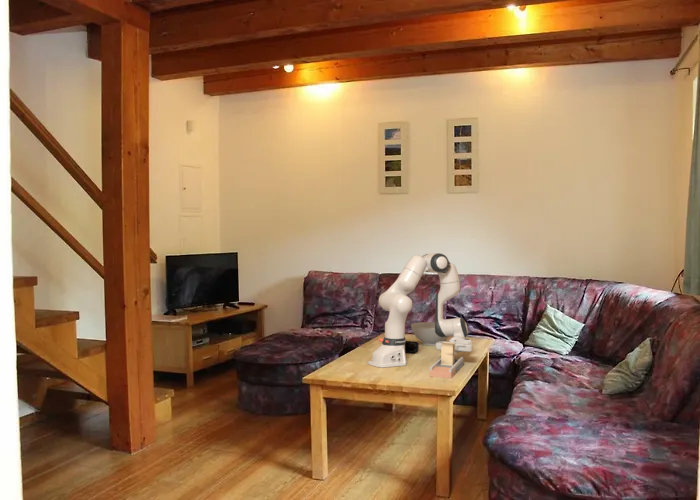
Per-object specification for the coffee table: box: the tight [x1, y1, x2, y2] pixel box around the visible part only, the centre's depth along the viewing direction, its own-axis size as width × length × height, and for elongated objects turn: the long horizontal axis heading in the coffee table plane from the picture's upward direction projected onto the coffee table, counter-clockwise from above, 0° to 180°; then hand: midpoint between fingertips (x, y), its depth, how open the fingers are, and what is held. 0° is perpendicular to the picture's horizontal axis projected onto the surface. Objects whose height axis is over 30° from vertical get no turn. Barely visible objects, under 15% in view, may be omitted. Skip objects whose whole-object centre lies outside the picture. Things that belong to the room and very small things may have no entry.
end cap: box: [405, 340, 420, 355], centre depth 366 cm, size 10×7×7 cm
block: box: [440, 341, 456, 366], centre depth 321 cm, size 6×6×11 cm
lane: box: [429, 356, 464, 379], centre depth 319 cm, size 32×11×4 cm, turn 159°
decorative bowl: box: [410, 321, 450, 346], centre depth 394 cm, size 27×27×12 cm
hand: (451, 349), depth 327 cm, fingers closed
